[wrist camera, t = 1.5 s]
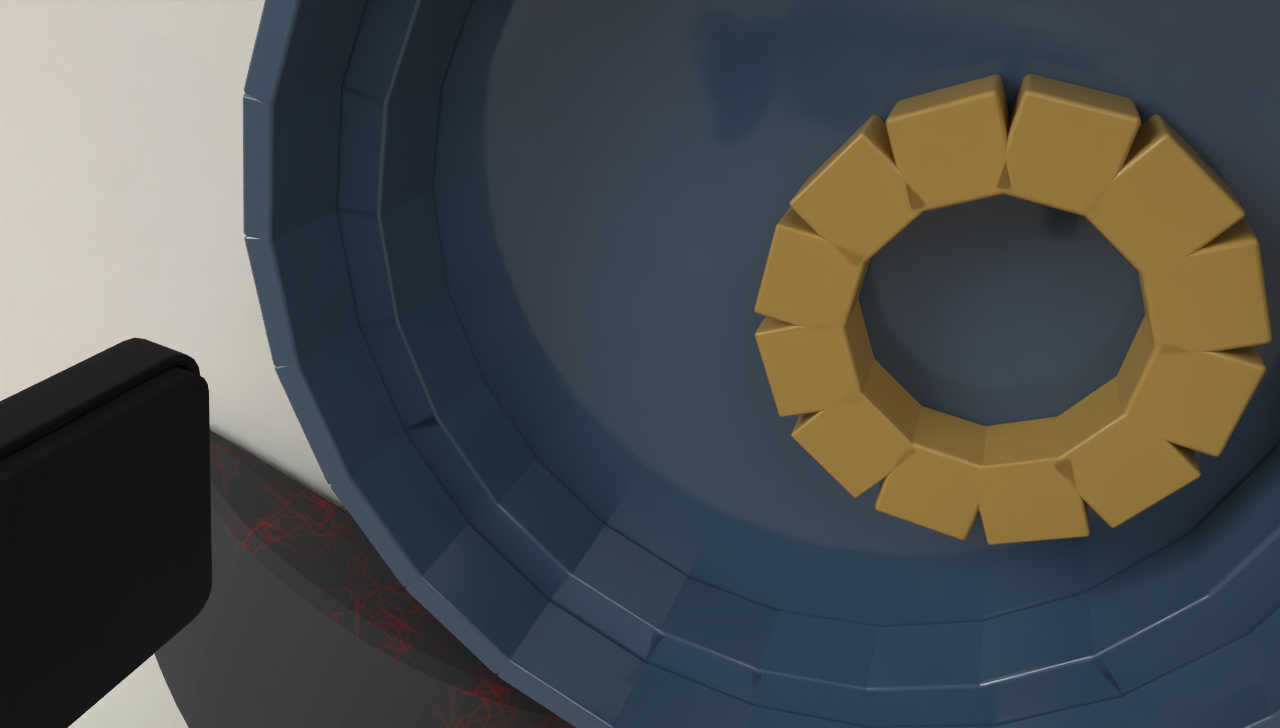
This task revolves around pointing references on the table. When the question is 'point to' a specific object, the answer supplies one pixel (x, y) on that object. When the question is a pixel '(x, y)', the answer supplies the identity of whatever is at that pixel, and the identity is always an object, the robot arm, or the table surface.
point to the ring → (1104, 420)
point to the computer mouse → (318, 625)
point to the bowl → (742, 354)
